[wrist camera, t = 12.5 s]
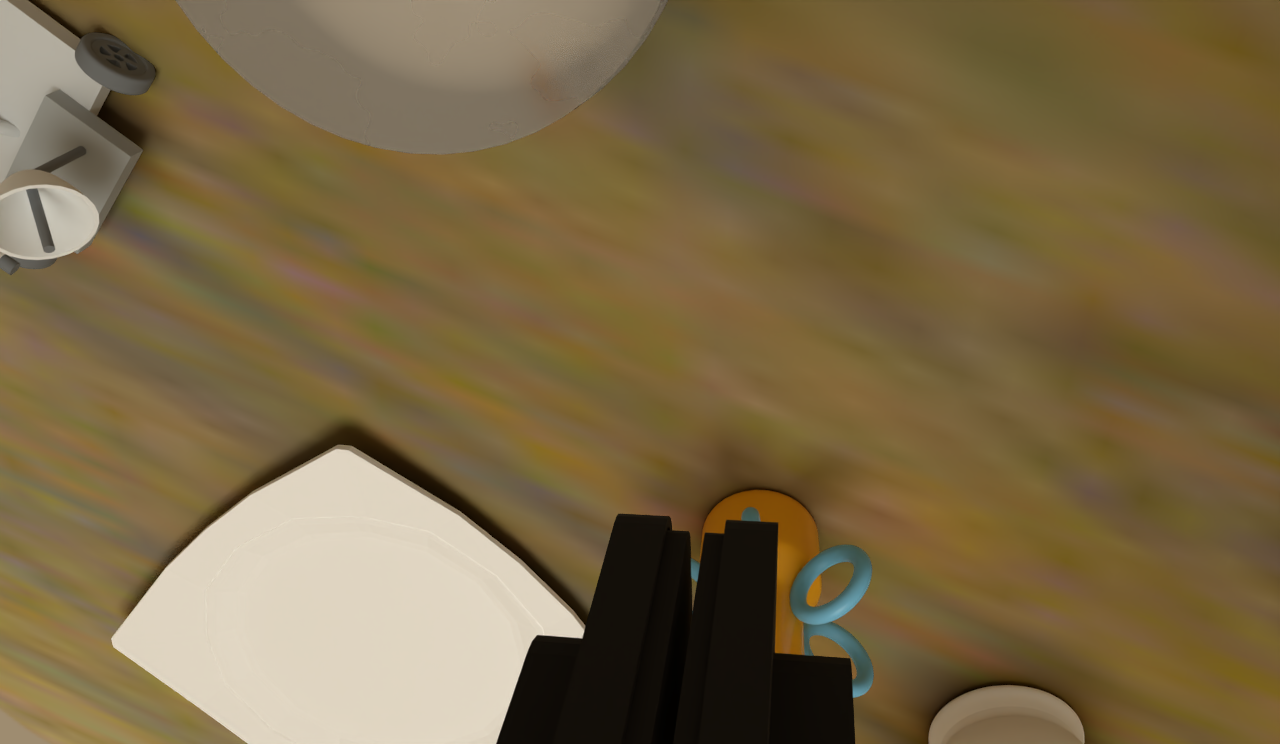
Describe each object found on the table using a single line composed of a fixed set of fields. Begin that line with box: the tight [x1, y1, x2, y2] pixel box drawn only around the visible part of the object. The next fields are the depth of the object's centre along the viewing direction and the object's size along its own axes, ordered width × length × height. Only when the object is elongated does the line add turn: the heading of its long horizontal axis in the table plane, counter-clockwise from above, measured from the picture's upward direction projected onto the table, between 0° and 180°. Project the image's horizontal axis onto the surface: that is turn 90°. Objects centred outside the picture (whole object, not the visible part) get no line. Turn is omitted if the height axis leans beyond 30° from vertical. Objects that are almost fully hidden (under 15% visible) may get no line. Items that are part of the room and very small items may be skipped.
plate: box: [111, 445, 585, 744], centre depth 58 cm, size 24×24×3 cm
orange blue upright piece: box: [691, 490, 874, 698], centre depth 46 cm, size 12×10×15 cm
